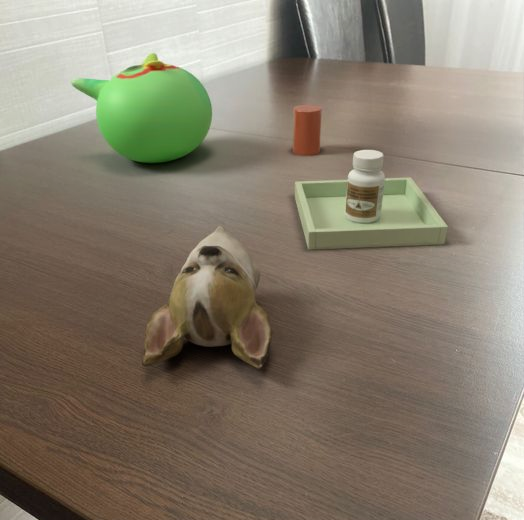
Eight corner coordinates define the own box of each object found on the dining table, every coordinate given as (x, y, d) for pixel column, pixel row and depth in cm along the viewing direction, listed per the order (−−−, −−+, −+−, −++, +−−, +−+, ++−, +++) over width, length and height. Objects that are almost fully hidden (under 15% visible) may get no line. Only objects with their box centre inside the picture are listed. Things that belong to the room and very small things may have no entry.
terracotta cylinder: (317, 148, 92) (319, 104, 88) (321, 157, 89) (323, 111, 84) (291, 149, 92) (292, 105, 88) (294, 158, 89) (294, 112, 84)
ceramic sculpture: (277, 209, 50) (267, 306, 39) (279, 288, 56) (270, 394, 44) (162, 209, 51) (119, 304, 40) (175, 287, 57) (140, 390, 45)
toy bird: (147, 186, 80) (130, 74, 71) (82, 161, 89) (60, 60, 80) (234, 155, 90) (230, 54, 81) (168, 136, 99) (157, 44, 91)
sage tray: (408, 195, 75) (411, 177, 74) (444, 247, 63) (448, 226, 61) (294, 199, 75) (294, 181, 73) (308, 252, 63) (308, 231, 61)
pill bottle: (340, 221, 68) (345, 157, 63) (349, 207, 71) (354, 146, 66) (376, 226, 67) (383, 161, 62) (383, 212, 70) (391, 150, 65)
